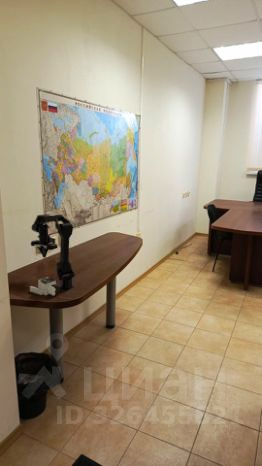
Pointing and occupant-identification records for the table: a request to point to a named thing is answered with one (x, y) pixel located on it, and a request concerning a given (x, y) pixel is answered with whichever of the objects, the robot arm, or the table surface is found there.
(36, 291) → the holder
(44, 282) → the white stepped block
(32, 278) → the table surface
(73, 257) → the table surface
